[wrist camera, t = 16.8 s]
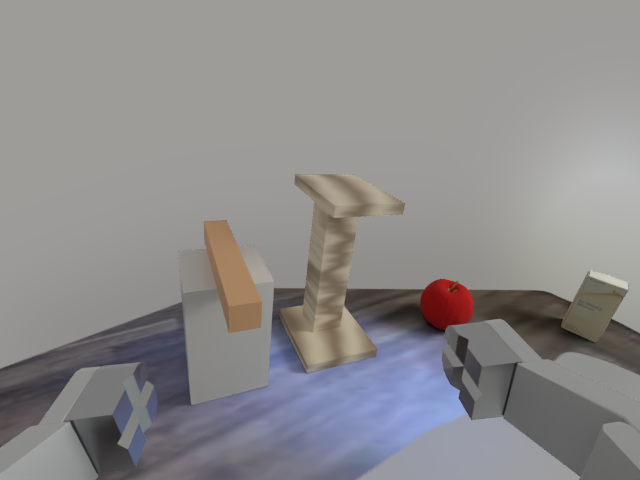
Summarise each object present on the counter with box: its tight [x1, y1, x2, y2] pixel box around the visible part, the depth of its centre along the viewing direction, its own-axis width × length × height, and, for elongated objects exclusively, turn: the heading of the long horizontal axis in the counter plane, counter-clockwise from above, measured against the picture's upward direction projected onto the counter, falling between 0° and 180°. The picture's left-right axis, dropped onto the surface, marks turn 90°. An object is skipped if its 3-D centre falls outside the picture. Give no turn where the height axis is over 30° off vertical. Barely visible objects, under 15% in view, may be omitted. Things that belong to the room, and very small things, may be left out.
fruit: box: [420, 279, 474, 330], centre depth 63 cm, size 9×9×10 cm
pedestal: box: [179, 245, 274, 405], centre depth 46 cm, size 10×10×17 cm
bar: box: [204, 220, 262, 333], centre depth 39 cm, size 3×20×3 cm, turn 23°
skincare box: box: [561, 269, 629, 343], centre depth 65 cm, size 6×4×12 cm
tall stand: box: [279, 174, 405, 373], centre depth 53 cm, size 12×14×26 cm
